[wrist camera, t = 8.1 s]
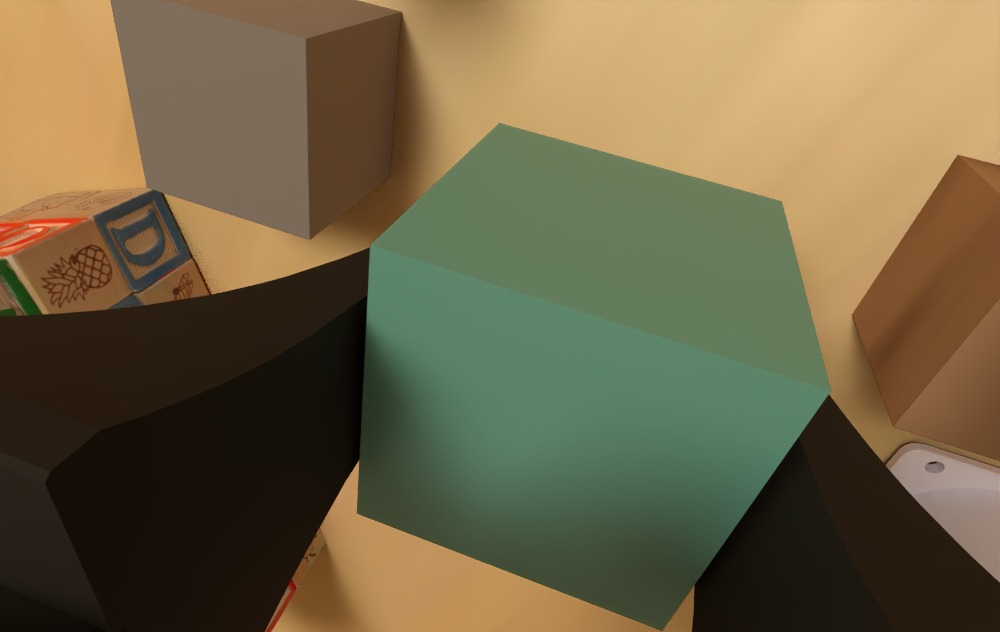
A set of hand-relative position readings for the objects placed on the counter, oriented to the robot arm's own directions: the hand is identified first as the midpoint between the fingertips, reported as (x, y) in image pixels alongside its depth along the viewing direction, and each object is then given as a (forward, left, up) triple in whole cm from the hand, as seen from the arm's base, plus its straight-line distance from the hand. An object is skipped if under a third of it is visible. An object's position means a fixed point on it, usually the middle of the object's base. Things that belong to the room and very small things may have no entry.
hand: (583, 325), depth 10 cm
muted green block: (0, 0, -2) cm, 2 cm away
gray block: (+10, 0, -8) cm, 13 cm away
